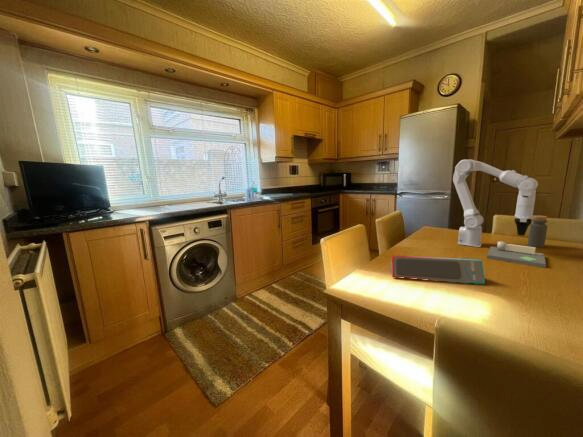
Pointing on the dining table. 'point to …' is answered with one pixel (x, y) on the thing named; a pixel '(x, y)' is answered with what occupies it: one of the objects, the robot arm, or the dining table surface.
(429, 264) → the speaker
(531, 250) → the peg lever
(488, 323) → the dining table surface
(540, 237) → the bottle
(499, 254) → the board
